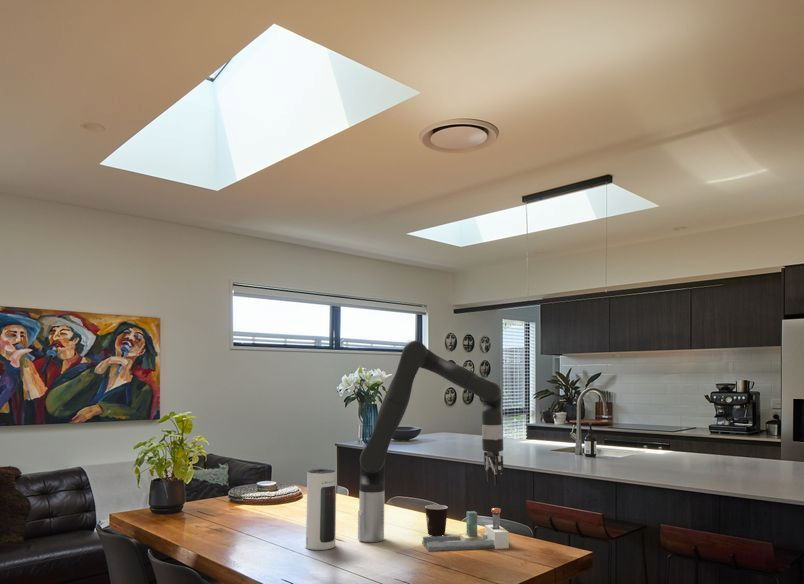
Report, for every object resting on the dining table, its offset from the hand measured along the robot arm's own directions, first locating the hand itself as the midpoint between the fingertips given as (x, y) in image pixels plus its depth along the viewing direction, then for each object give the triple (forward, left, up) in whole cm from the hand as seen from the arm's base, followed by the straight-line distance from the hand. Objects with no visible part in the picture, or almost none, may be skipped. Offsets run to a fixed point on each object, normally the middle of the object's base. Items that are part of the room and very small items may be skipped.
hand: (494, 483), depth 222 cm
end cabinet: (+1, 0, -21) cm, 21 cm away
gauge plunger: (+1, 0, -18) cm, 18 cm away
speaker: (-61, +7, -21) cm, 65 cm away
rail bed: (-12, 0, -21) cm, 24 cm away
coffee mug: (-16, +19, -21) cm, 33 cm away
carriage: (-8, 0, -20) cm, 22 cm away
